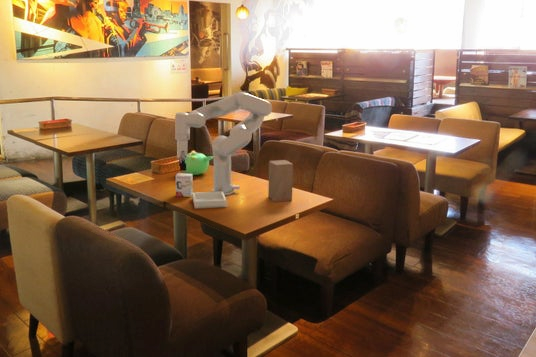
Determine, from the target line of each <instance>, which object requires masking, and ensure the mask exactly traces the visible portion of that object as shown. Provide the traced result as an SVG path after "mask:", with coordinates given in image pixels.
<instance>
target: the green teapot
mask: <svg viewBox="0 0 536 357" xmlns="http://www.w3.org/2000/svg"><path fill="white" fill-rule="evenodd" d="M213 159H214V157H213V155H212V156H206V155H205V154H204V153H202V152H197V151H195V150H191V152H188V153H187V158H186V171H183V172H184V173H185V174H193V176H199V175H202V174H204V173H205V172H206V171H207V170H208V168H209V166H210V161H212V160H213Z"/></svg>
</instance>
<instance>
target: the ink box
mask: <svg viewBox="0 0 536 357" xmlns="http://www.w3.org/2000/svg"><path fill="white" fill-rule="evenodd" d="M193 176H194V175H193V174H187V173H185V172H184V173H181V172H178V173H176V174H175V196H176V197H182V198H183V197H184V198H185V197H187V198H190V197H193V193H194V189H193V188H194V186H193V185H194V184H193V181H194V180H193Z"/></svg>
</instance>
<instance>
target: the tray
mask: <svg viewBox="0 0 536 357" xmlns="http://www.w3.org/2000/svg"><path fill="white" fill-rule="evenodd" d="M192 203H193V207H194V209H209V208H211V209H213V208H227V206H228V201H227V197H226V195H224V193H223V191H222V192H211V191H206V192H205V191H201V192H200V191H199V192H193V195H192Z"/></svg>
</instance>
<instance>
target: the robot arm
mask: <svg viewBox="0 0 536 357" xmlns="http://www.w3.org/2000/svg"><path fill="white" fill-rule="evenodd" d="M241 109H243V110H244V111H247V112H249V114H248V116H247V117H246V118H244V119H243V120H242V121H240V122H239V123H237V124H236V125H234V126H233V127H232V128H231V129H230V131H229V135H228V136H226V135H217V136H216V137H214V139H213V140H212V154H213V155H212V156H213V188H212V189H210V192H222V191H223V193H224V195H225V196H229V195H232V194H234V193H235V190H240V185H237V184H232V155H235V153H237V152H239V151H241V149H243V148H244V147H246V146H247V145H248V144H249V143H250V142H251V140H252V137H253V135H252V134H253V133H254V132H256V131H257V130H258V129H259V128H260V127H261V126H262V124H263V122H264V118H265V117H269V115H270V114H272V111H273V106H272V104H271V102H270V101H268V100H266V99H262V98H260V97H257V96H254V95H252V94H250V93H248V92H244V91H237V92H236V93H234V94H231V95H229V96H226V97H225V98H222V99H220V100H218V101H217V100H216V101H214V102H211V103H209V104H206V105H203V106H201V107H198V108H196V109H194V110H192V111H190V112H189V113H188V112H177V113H175V115H174V116H175V117H174V120H175V122H174V124H175V125H174V126H175V127H174V131H175V132H174V134H175V136H174V138H175V139H174V140H176V157H177V159H178V162H179V163H178V164H179V165H178V166H179V170H180V171H182V172H184V171H186V158H187V154H188V147H189V146H188V141H190V140H191V135H190V134H191V133H190V132H191V128H199V129H200V128H202V127H204V126H205V124H206V121H207V120H209V119H213V118H220V117H221V118H222V117H226V116H228V115H230V114H231V113H234V112H236V111H239V110H241Z"/></svg>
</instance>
